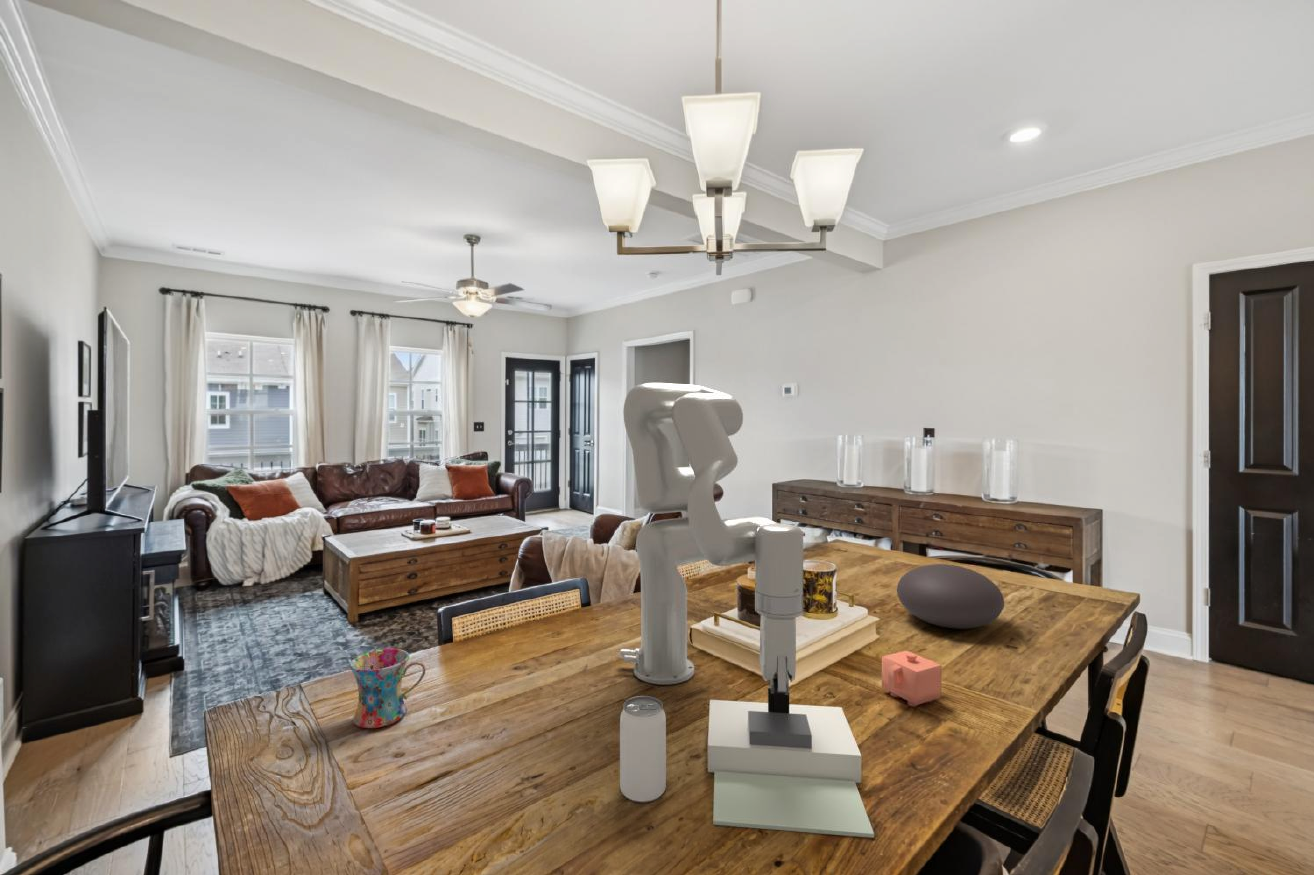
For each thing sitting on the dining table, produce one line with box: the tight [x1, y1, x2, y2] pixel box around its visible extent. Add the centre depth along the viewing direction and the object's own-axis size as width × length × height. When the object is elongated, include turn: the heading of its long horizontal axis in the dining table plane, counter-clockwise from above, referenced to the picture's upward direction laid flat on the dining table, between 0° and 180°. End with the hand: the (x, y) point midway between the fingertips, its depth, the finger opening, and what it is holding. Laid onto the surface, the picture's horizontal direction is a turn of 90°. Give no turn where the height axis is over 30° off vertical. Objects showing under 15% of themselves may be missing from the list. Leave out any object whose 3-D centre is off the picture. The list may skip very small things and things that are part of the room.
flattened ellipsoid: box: [896, 563, 1005, 630], centre depth 147 cm, size 25×25×15 cm
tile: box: [748, 711, 812, 749], centre depth 87 cm, size 9×6×2 cm, turn 83°
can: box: [619, 695, 667, 804], centre depth 80 cm, size 6×6×12 cm
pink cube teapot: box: [881, 649, 943, 708], centre depth 108 cm, size 8×12×8 cm, turn 116°
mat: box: [712, 771, 875, 839], centre depth 77 cm, size 20×10×1 cm, turn 83°
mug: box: [349, 648, 427, 729], centre depth 100 cm, size 12×9×11 cm
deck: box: [707, 699, 862, 784], centre depth 90 cm, size 22×14×4 cm, turn 83°
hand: (778, 714), depth 91 cm, fingers closed
